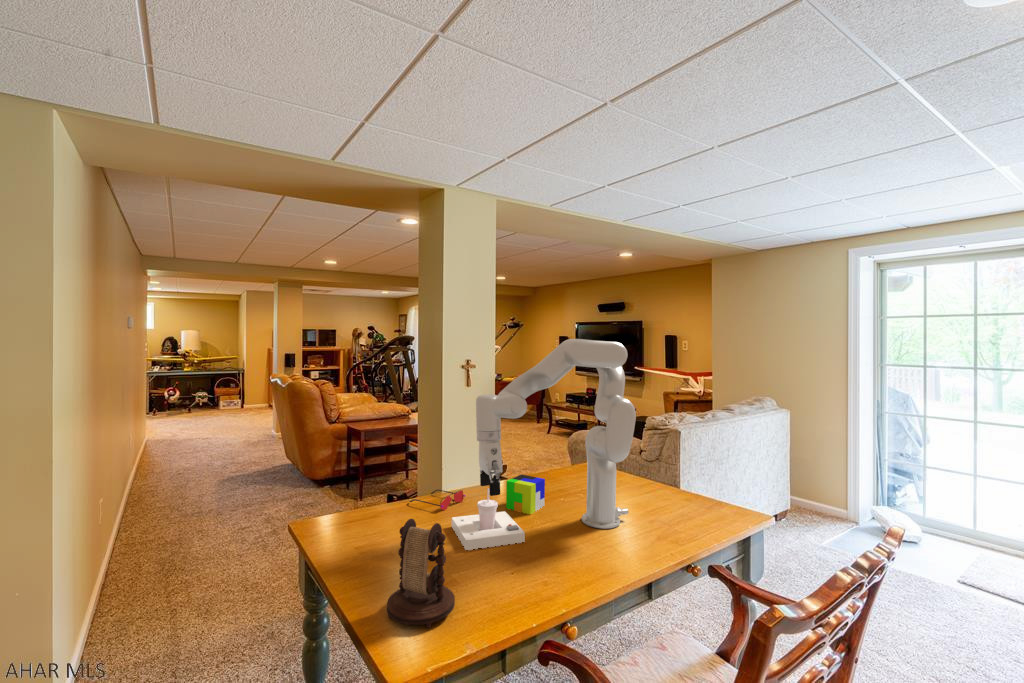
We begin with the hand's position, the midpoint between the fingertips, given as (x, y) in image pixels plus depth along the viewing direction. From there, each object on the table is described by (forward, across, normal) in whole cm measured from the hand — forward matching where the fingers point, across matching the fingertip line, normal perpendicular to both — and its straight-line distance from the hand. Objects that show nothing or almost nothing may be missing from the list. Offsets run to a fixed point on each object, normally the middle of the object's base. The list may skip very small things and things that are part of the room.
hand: (490, 490), depth 148 cm
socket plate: (+14, 0, +1) cm, 14 cm away
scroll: (+13, -35, +27) cm, 46 cm away
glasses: (+14, +33, +11) cm, 37 cm away
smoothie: (+14, 0, +1) cm, 14 cm away
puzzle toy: (+15, +18, -19) cm, 30 cm away
